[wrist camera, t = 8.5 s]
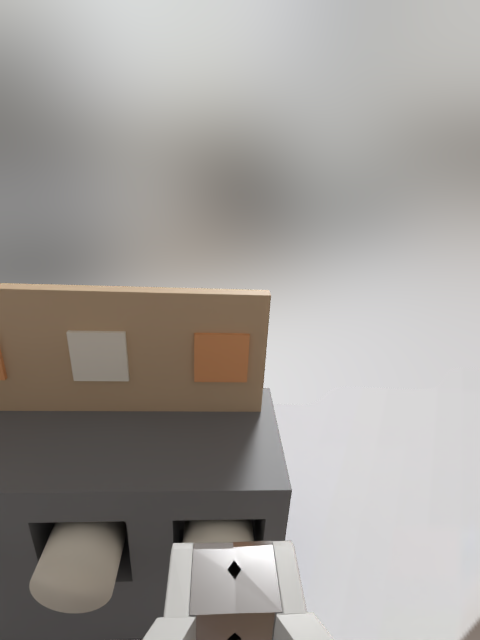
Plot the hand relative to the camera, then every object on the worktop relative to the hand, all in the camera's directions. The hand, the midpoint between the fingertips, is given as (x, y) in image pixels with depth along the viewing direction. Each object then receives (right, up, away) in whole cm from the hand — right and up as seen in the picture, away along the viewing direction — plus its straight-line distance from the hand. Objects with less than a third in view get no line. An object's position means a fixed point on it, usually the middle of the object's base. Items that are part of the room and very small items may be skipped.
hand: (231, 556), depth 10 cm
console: (-10, -14, +21) cm, 27 cm away
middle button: (-9, -10, +14) cm, 19 cm away
